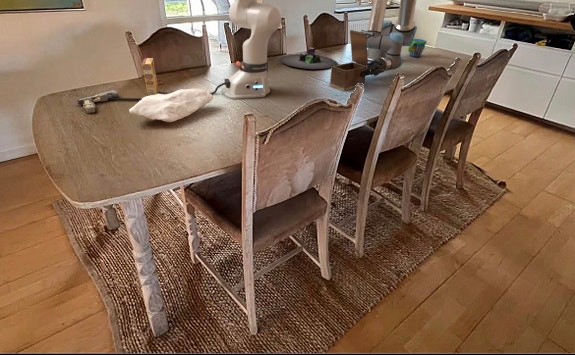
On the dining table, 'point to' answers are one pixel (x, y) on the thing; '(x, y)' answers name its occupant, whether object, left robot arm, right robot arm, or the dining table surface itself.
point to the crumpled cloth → (171, 104)
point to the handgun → (95, 100)
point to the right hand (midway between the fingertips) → (353, 71)
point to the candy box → (150, 76)
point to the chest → (347, 75)
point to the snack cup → (417, 47)
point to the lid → (360, 46)
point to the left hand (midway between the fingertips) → (364, 4)
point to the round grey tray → (308, 60)
